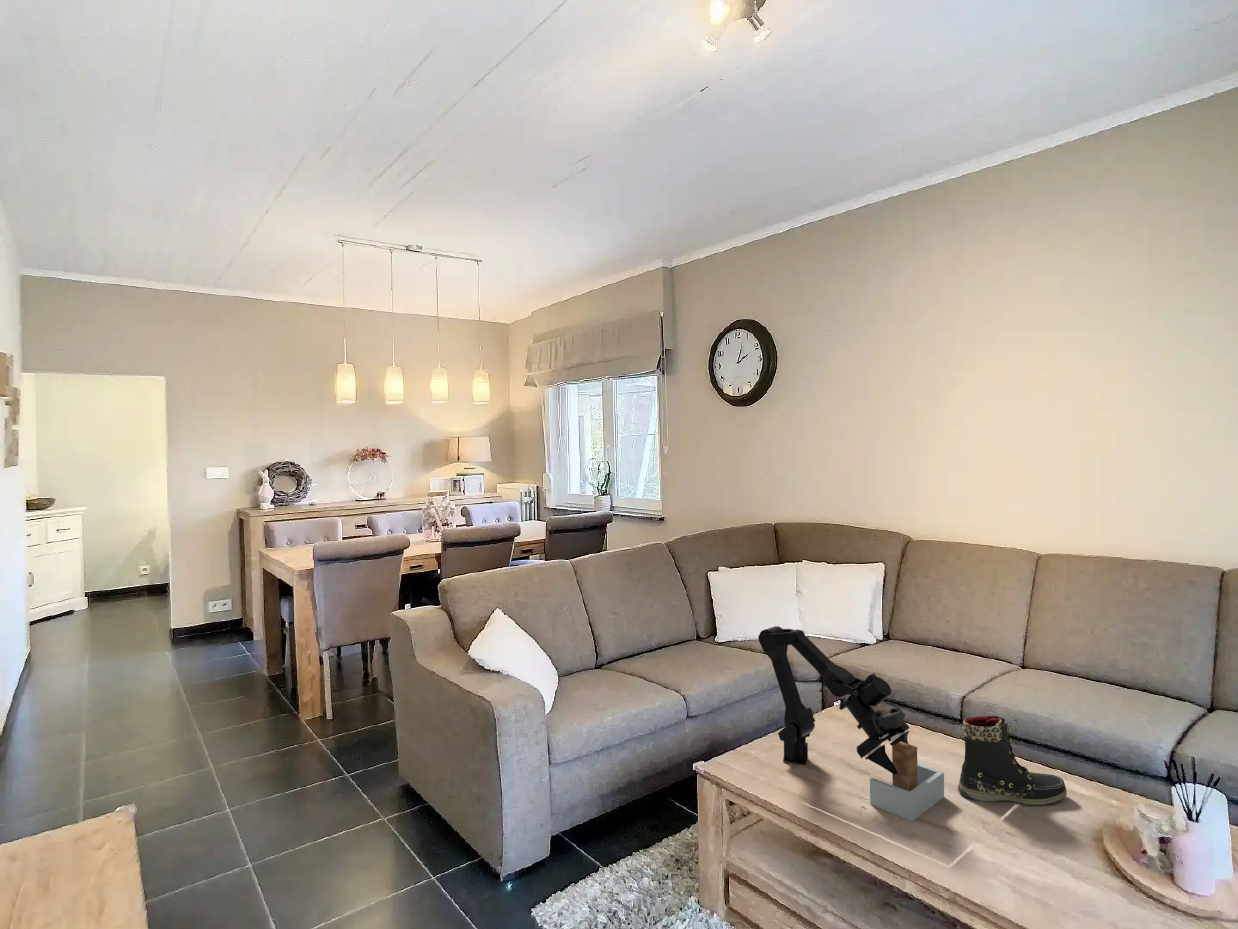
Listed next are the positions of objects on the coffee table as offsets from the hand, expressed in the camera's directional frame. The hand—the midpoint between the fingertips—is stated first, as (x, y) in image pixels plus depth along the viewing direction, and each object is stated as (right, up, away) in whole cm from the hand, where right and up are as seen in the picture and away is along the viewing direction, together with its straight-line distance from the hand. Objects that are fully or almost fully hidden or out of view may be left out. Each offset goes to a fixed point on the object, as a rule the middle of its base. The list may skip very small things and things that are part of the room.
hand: (905, 768), depth 180 cm
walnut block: (0, -8, 0) cm, 8 cm away
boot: (+29, -8, +2) cm, 30 cm away
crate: (0, -9, 0) cm, 9 cm away
